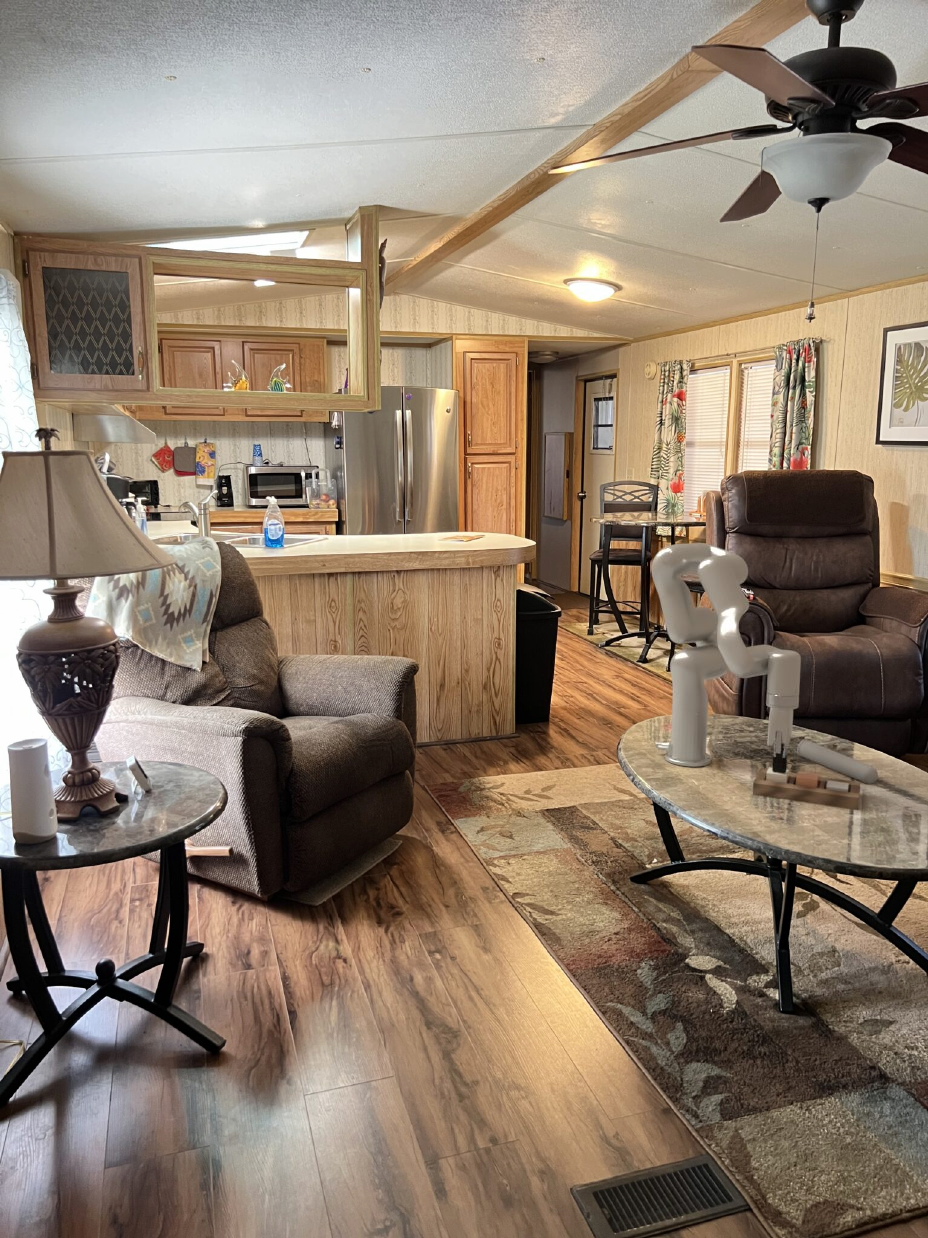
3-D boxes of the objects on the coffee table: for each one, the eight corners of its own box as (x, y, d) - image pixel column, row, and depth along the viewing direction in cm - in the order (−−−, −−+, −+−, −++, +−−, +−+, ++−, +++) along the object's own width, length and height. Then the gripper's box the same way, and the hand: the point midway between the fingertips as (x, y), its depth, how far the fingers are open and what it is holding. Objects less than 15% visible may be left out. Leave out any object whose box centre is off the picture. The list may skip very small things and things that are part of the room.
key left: (765, 784, 223) (766, 773, 223) (768, 778, 228) (768, 767, 227) (786, 787, 221) (786, 775, 221) (788, 781, 226) (788, 770, 225)
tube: (885, 769, 229) (814, 741, 252) (870, 765, 227) (800, 737, 249) (878, 789, 229) (808, 759, 252) (864, 785, 227) (794, 755, 250)
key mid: (795, 788, 220) (796, 777, 220) (797, 782, 225) (798, 771, 224) (816, 791, 218) (817, 780, 218) (817, 785, 223) (818, 774, 222)
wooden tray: (752, 794, 221) (753, 783, 221) (759, 779, 232) (759, 768, 232) (858, 810, 211) (858, 798, 211) (859, 793, 222) (860, 782, 222)
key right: (825, 798, 218) (826, 786, 217) (826, 791, 222) (827, 780, 221) (846, 801, 216) (847, 789, 215) (847, 794, 220) (848, 783, 219)
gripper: (770, 692, 229) (767, 761, 232) (762, 705, 216) (759, 778, 218) (801, 695, 226) (797, 764, 229) (795, 708, 212) (792, 782, 215)
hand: (779, 771), depth 224 cm, fingers closed
